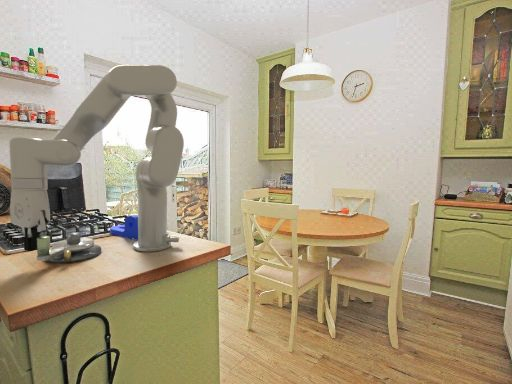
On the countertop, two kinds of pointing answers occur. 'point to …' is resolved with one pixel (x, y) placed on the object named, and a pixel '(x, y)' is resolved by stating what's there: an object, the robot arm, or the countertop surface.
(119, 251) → the countertop surface
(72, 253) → the post base
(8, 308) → the countertop surface
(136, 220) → the bracket
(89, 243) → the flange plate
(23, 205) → the robot arm
